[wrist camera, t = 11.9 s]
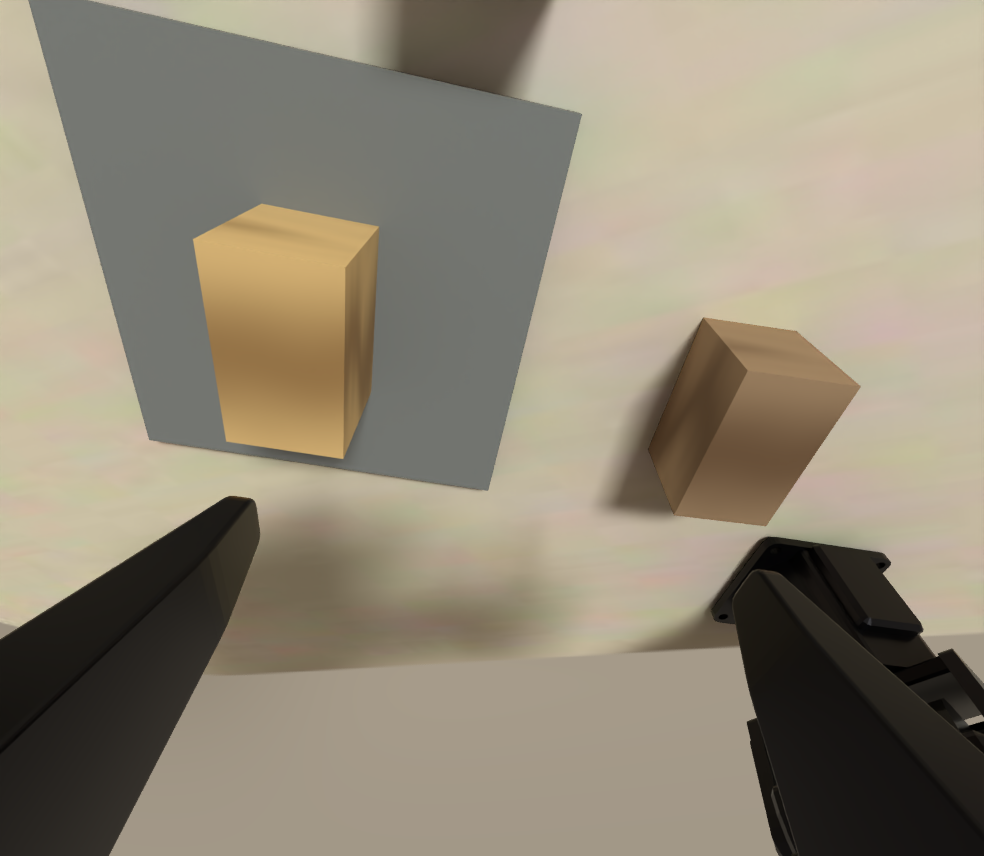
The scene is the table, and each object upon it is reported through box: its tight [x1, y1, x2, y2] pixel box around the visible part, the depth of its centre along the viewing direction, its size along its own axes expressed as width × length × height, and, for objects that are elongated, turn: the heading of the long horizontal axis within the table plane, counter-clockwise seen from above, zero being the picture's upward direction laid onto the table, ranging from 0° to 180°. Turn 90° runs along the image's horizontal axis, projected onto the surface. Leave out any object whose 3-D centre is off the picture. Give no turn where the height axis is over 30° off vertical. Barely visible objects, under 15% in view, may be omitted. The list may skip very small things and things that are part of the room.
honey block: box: [193, 204, 379, 459], centre depth 15 cm, size 6×4×4 cm, turn 169°
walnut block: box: [648, 318, 861, 526], centre depth 18 cm, size 6×4×4 cm, turn 172°
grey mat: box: [29, 0, 582, 491], centre depth 17 cm, size 14×14×1 cm
